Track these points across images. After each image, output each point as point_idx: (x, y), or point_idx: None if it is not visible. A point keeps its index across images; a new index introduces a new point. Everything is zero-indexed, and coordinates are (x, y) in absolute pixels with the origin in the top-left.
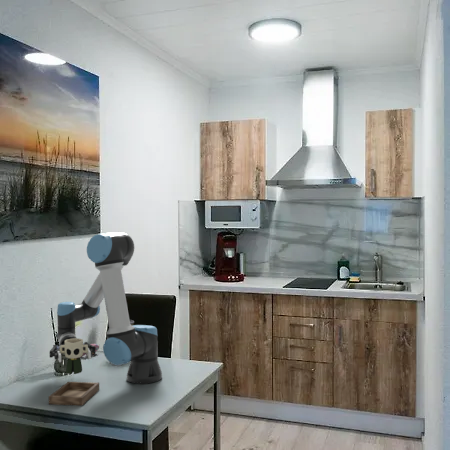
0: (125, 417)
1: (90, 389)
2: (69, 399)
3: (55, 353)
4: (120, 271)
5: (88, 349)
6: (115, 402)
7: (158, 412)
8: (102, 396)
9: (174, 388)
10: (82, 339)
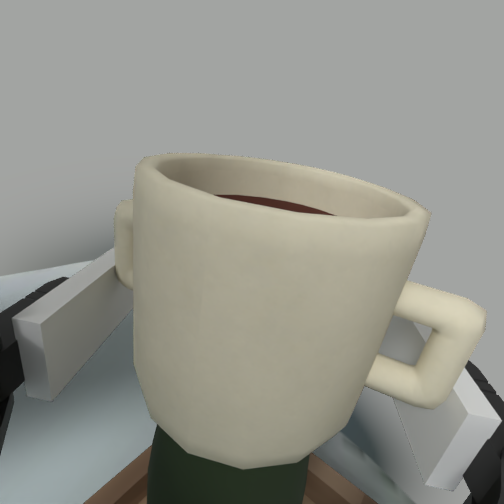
0: None
1: (126, 476)
2: None
3: (501, 411)
4: None
5: (84, 275)
6: (97, 367)
7: (79, 267)
8: (72, 470)
9: None
10: (146, 157)
